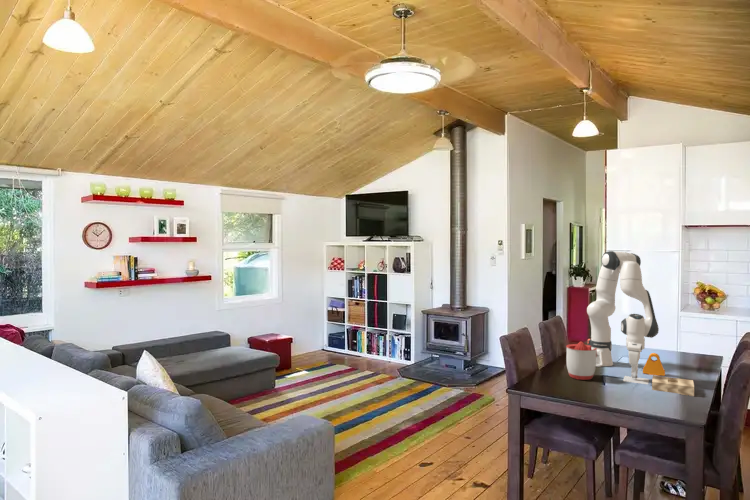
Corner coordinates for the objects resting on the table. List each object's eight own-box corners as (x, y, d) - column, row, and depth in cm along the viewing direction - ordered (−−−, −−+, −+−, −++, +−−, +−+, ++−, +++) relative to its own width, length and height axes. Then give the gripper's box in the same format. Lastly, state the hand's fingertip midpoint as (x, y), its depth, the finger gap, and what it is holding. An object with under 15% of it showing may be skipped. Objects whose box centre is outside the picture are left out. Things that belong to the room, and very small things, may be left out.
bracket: (665, 374, 289) (665, 353, 289) (664, 377, 283) (665, 355, 282) (643, 371, 294) (644, 351, 294) (642, 374, 288) (643, 353, 288)
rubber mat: (622, 381, 273) (622, 381, 273) (624, 376, 283) (624, 375, 283) (648, 385, 267) (648, 384, 267) (649, 379, 277) (649, 378, 277)
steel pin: (630, 377, 275) (631, 361, 275) (631, 376, 278) (632, 360, 277) (637, 378, 273) (637, 362, 273) (637, 377, 276) (638, 360, 276)
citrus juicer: (604, 381, 274) (605, 344, 274) (573, 381, 273) (574, 344, 272) (590, 373, 290) (591, 338, 289) (560, 373, 288) (561, 338, 288)
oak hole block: (652, 390, 257) (652, 381, 257) (652, 383, 269) (652, 375, 269) (694, 396, 248) (694, 387, 248) (692, 389, 260) (693, 380, 260)
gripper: (630, 340, 285) (629, 365, 286) (626, 347, 268) (626, 373, 268) (643, 342, 282) (642, 366, 283) (640, 348, 265) (639, 375, 265)
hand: (634, 370), depth 275 cm, fingers closed on steel pin, 3 cm apart
